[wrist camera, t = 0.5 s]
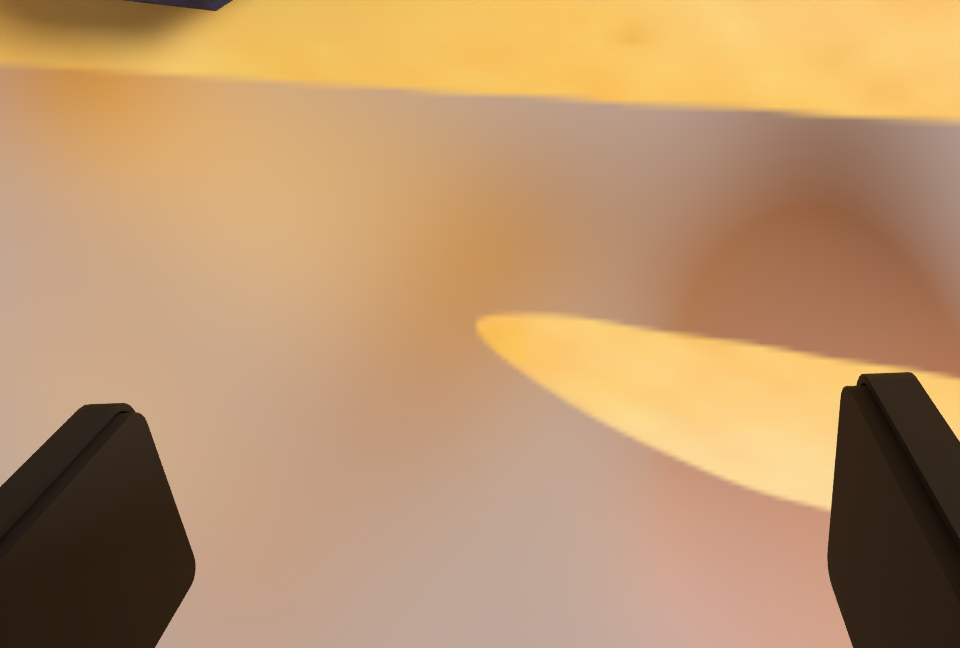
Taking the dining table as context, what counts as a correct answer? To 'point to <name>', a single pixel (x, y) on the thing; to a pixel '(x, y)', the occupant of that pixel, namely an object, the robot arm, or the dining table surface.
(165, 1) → the decorative orb
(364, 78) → the dining table surface
